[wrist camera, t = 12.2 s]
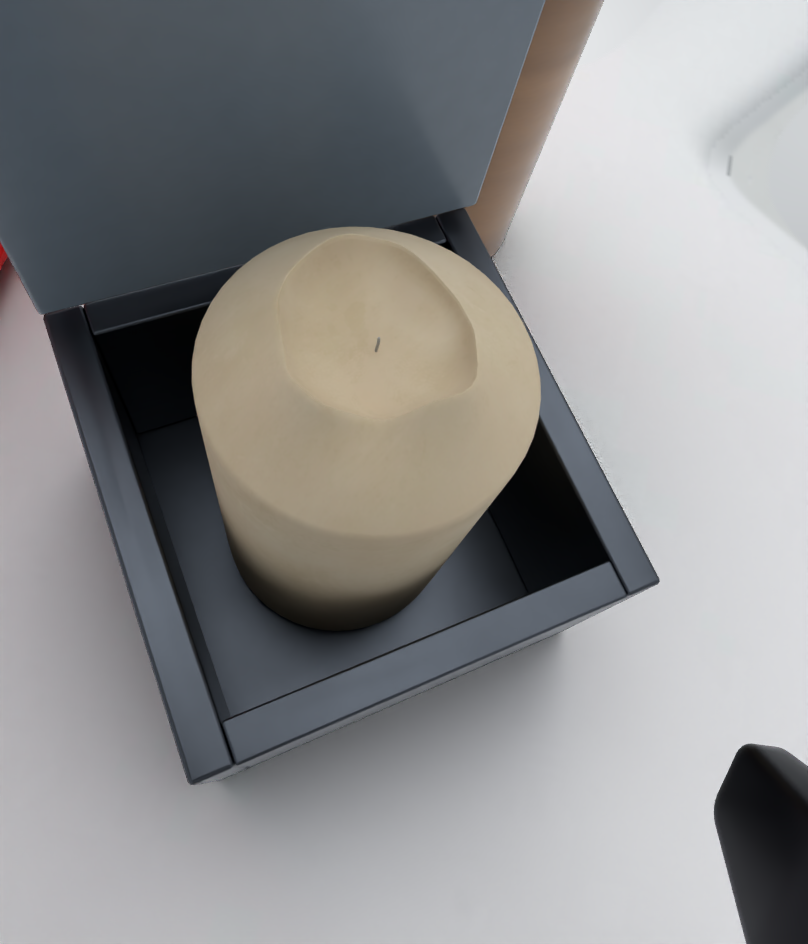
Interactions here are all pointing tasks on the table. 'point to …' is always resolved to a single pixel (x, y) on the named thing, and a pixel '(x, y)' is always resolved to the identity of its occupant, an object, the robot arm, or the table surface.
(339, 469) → the candle
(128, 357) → the open box
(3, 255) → the red rounded piece
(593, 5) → the tall beige cylinder
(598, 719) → the table surface
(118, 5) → the lid
